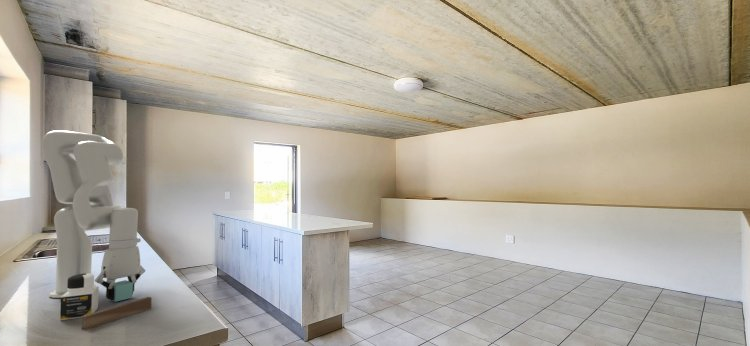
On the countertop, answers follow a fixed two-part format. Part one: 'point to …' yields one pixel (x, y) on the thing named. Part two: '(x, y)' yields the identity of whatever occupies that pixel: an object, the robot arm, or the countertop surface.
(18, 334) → the countertop surface
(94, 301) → the medicine bottle
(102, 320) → the walnut fence
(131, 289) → the teal block
